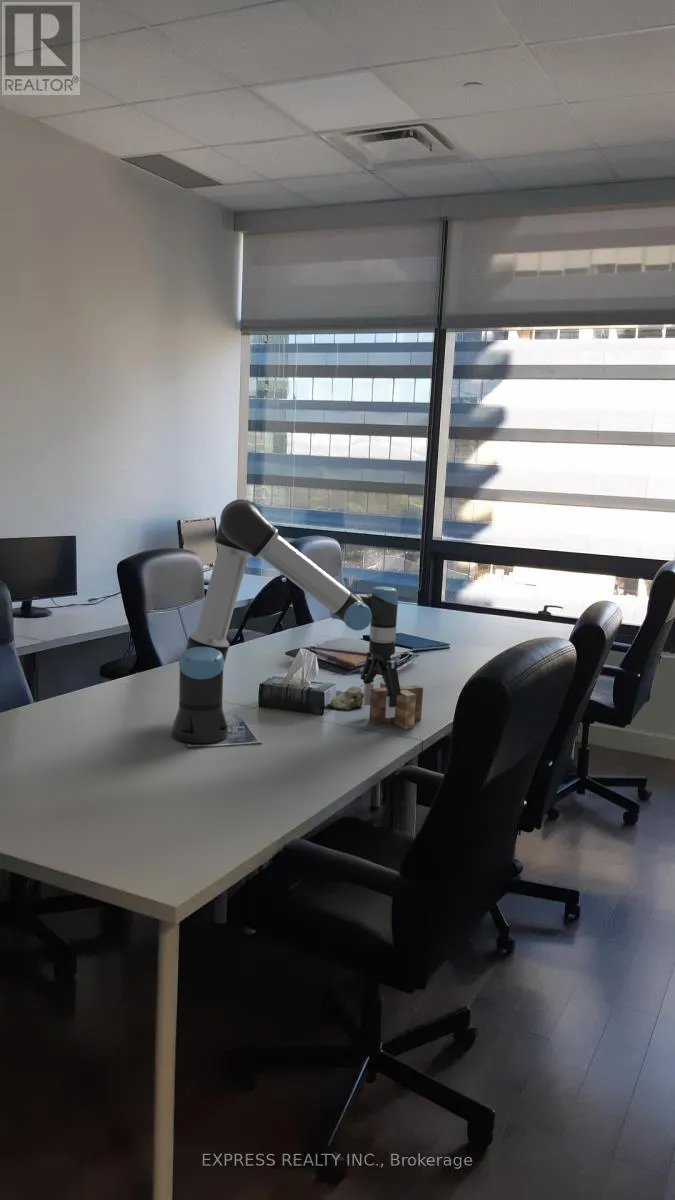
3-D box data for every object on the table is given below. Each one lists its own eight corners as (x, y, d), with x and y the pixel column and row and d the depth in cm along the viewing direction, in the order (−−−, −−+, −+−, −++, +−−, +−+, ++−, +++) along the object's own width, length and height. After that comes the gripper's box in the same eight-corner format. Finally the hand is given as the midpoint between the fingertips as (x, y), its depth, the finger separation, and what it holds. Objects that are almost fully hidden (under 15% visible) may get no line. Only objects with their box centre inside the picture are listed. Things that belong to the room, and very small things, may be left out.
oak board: (404, 729, 261) (406, 695, 259) (378, 713, 275) (380, 681, 273) (413, 728, 262) (415, 694, 260) (387, 713, 276) (389, 681, 274)
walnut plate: (373, 724, 263) (375, 691, 262) (369, 721, 266) (370, 688, 265) (421, 720, 270) (423, 687, 269) (416, 717, 273) (418, 685, 271)
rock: (322, 710, 280) (349, 712, 274) (321, 690, 280) (347, 691, 274) (342, 704, 289) (368, 705, 283) (341, 685, 288) (367, 685, 282)
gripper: (415, 648, 252) (411, 721, 256) (373, 631, 274) (370, 698, 278) (392, 650, 249) (387, 724, 252) (351, 632, 271) (348, 700, 275)
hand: (378, 711), depth 265 cm, fingers open, 13 cm apart
